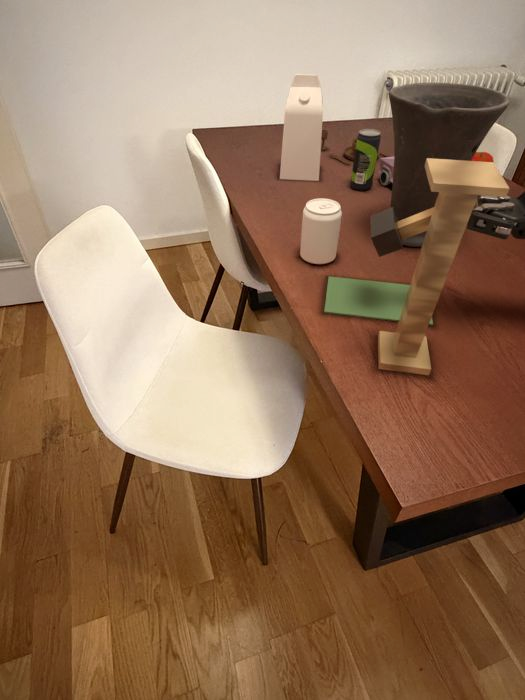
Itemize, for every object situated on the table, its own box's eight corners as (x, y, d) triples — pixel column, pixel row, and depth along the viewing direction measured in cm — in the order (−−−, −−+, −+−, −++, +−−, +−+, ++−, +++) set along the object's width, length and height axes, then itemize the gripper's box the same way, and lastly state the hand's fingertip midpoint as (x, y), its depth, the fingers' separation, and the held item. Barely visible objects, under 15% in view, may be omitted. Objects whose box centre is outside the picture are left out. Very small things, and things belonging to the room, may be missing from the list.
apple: (465, 183, 121) (479, 144, 113) (490, 193, 116) (506, 153, 108) (446, 189, 117) (459, 150, 110) (471, 200, 112) (486, 159, 105)
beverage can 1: (293, 252, 92) (296, 202, 84) (322, 244, 95) (328, 194, 86) (312, 270, 87) (317, 217, 79) (342, 260, 90) (350, 209, 81)
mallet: (473, 197, 66) (467, 175, 64) (482, 219, 61) (477, 196, 58) (378, 234, 74) (370, 215, 72) (379, 257, 68) (370, 237, 66)
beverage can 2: (375, 189, 118) (386, 133, 107) (357, 193, 116) (367, 136, 105) (362, 181, 122) (372, 127, 111) (345, 185, 120) (353, 130, 109)
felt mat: (426, 288, 82) (426, 286, 82) (432, 325, 74) (433, 324, 74) (328, 277, 85) (328, 276, 85) (323, 312, 76) (324, 311, 76)
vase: (472, 237, 97) (530, 93, 76) (422, 270, 87) (473, 114, 66) (397, 207, 109) (429, 75, 88) (345, 233, 99) (367, 91, 78)
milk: (319, 166, 130) (328, 70, 112) (318, 180, 122) (328, 79, 104) (282, 165, 131) (285, 69, 113) (279, 179, 123) (282, 78, 105)
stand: (424, 342, 71) (493, 162, 49) (428, 375, 65) (510, 188, 44) (377, 336, 72) (426, 157, 50) (378, 369, 66) (433, 182, 45)
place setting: (350, 167, 130) (353, 147, 126) (315, 148, 143) (317, 130, 138) (391, 158, 136) (395, 139, 132) (354, 141, 149) (357, 123, 144)
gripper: (550, 174, 64) (438, 167, 67) (582, 213, 55) (449, 203, 57) (529, 218, 70) (425, 210, 72) (555, 260, 60) (434, 250, 62)
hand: (437, 207), depth 65 cm, fingers closed on mallet, 2 cm apart
